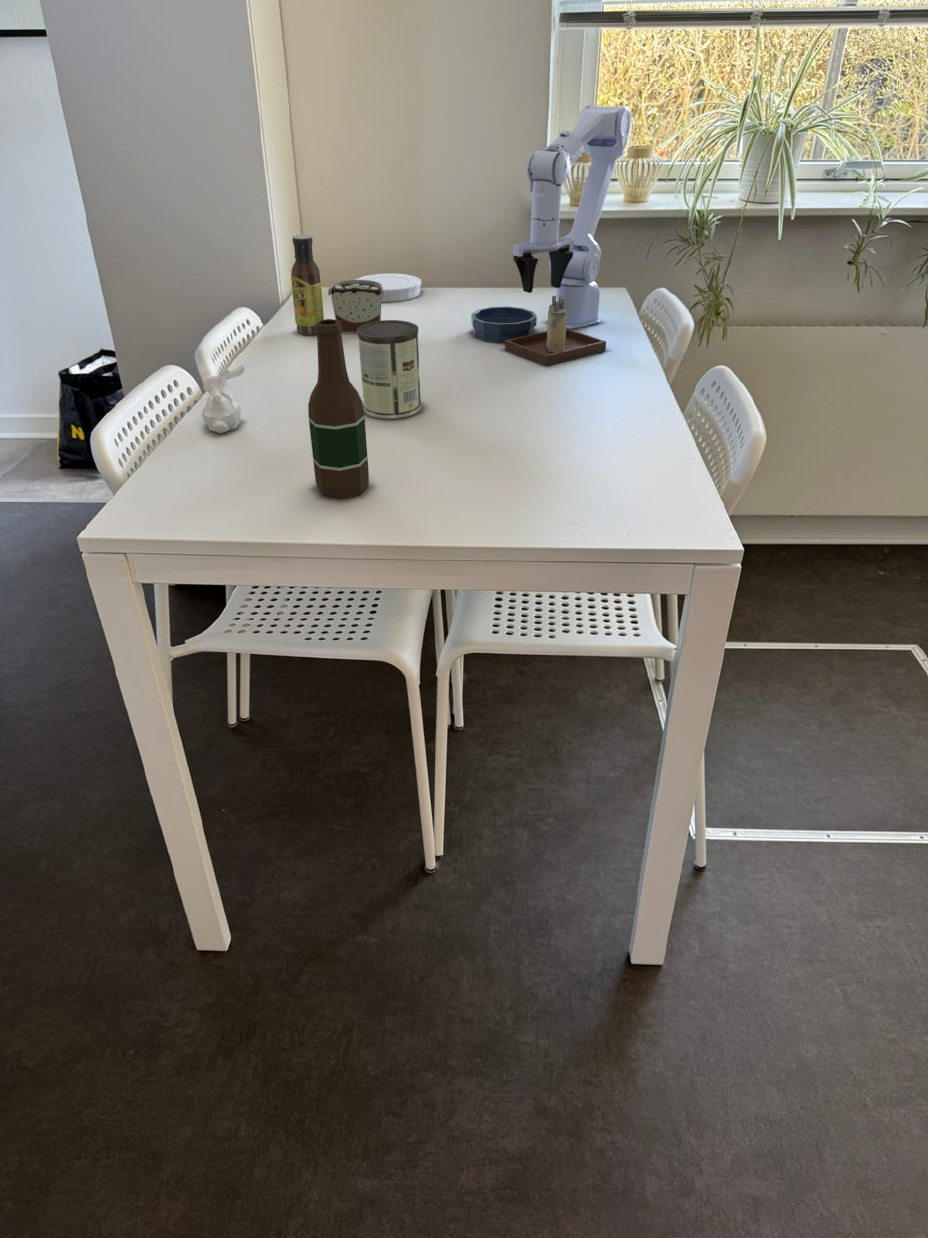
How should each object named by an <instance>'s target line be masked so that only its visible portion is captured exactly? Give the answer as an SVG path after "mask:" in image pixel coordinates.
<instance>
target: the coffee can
mask: <svg viewBox="0 0 928 1238" xmlns="http://www.w3.org/2000/svg"><path fill="white" fill-rule="evenodd" d="M356 335H358V336H357V337H358V338H357V339H358V347H359V348H358V350H359V351H358V352H359V363H360V364H359V365H360V375H361V388H362V399H363V400H362V402H363V409H364V414H366V415H368V416H369V417H371V418H376V419H384V420H392V419H393V420H394V419H396V420H398V419H404V418H407V417H408V418H409V417H412V416H414V415H416V414H418V413H420V411H421V409H422V405H421V403H422V402H421V387H420V386H421V381H420V380H421V379H420V358H419V357H420V354H419V326H418V325H417V324H415V323H414V322H411V321H407V320H397V319H385V320H381V321H375V322H370V323H366V324H364V325H361V326H360V327H358V329H357V333H356Z"/></svg>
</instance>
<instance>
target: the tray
mask: <svg viewBox="0 0 928 1238" xmlns="http://www.w3.org/2000/svg"><path fill="white" fill-rule="evenodd" d="M546 343H547V330H544V331H541V332H537V333H534V334H531V335H527V336H523V337H518V338H514V339H510V340H505V343H504V351H506V352H508V353H511V354H513V355H516V356H519V357H522V358H525V359H527V360H529V361H532V362H534V363H537V364H539V365H541V366H544V367H549V366H552V365H556V364H559V363H564V362H567V361H572V360H575V359H579V358H584V357H586V356H591V355H594V354H599V353H603V352H606V350H607V349H606V348H607V341H606V340H603V339H600V338H598V337H594V336H591V335H588V334H586V333H583V332H579V331H577V330H574V329H568V328H566V338H565V351H561V352H557V353H554V352H550V351H548V349H547V348H546V346H547V345H546Z"/></svg>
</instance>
